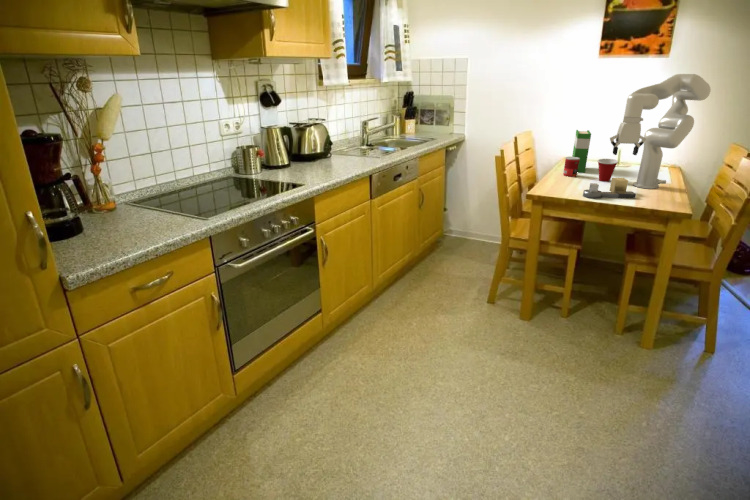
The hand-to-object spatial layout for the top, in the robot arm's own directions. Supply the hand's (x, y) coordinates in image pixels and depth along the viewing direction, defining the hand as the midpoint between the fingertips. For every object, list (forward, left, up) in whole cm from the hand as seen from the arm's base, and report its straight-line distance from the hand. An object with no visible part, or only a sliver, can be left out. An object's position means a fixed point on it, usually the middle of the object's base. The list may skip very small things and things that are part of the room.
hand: (624, 154), depth 233 cm
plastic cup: (-2, -26, -20) cm, 33 cm away
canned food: (+14, -38, -20) cm, 45 cm away
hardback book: (+4, -56, -20) cm, 60 cm away
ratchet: (+8, +10, -20) cm, 24 cm away
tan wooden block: (0, 0, -20) cm, 20 cm away
